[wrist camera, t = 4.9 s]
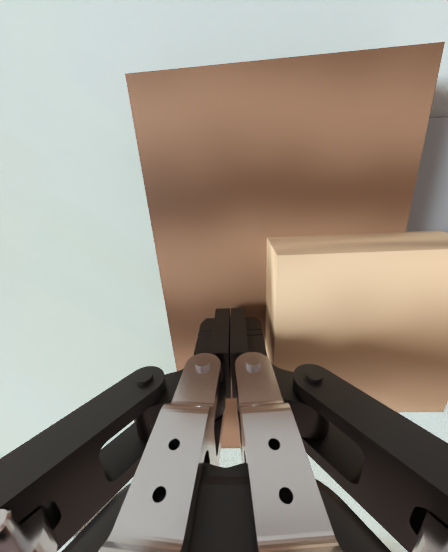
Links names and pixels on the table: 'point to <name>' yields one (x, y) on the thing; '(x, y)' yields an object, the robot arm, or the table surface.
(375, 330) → the maple tile
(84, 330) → the table surface
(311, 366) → the robot arm
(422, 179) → the rubber mat
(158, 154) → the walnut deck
